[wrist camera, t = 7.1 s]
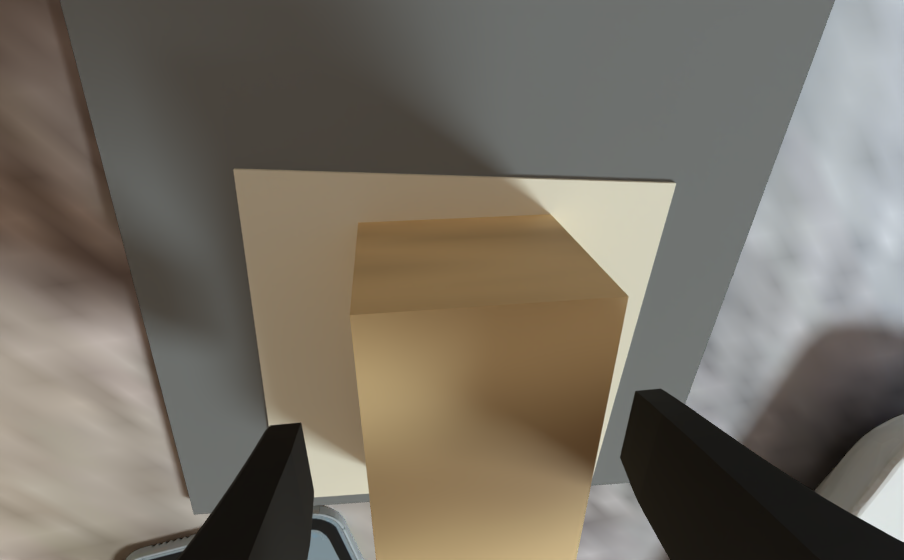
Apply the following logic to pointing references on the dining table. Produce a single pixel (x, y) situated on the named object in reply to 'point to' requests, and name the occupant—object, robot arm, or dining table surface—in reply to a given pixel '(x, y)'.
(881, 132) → the dining table surface
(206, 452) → the mat
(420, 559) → the pine block
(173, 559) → the smartphone
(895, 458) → the salad plate
